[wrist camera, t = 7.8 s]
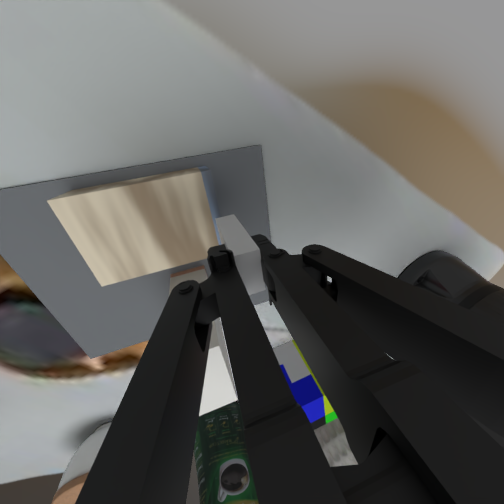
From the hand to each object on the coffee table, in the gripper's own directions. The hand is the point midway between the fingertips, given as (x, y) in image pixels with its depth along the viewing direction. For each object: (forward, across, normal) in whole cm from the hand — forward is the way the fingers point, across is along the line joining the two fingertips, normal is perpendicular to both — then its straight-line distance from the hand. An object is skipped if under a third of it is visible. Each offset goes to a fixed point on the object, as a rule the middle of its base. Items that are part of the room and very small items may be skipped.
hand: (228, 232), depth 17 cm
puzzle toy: (+9, -7, +32) cm, 34 cm away
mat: (+8, +7, +5) cm, 12 cm away
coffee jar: (+8, +9, +40) cm, 42 cm away
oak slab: (+5, 0, 0) cm, 5 cm away
